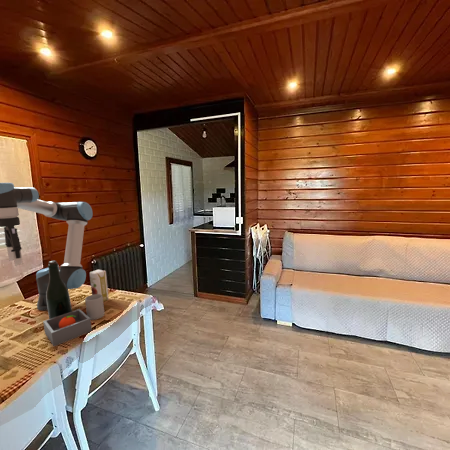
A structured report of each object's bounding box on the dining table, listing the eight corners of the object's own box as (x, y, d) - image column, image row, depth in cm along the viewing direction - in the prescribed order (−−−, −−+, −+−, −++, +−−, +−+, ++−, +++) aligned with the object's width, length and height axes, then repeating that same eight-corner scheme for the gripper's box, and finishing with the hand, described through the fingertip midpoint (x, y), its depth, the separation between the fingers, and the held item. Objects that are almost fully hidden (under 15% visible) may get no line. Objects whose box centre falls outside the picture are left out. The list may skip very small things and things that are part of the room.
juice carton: (102, 296, 164) (99, 268, 161) (110, 299, 159) (107, 270, 157) (91, 301, 157) (87, 272, 155) (99, 304, 153) (96, 274, 150)
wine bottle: (47, 327, 128) (36, 265, 123) (53, 317, 138) (44, 259, 132) (70, 323, 131) (61, 262, 126) (75, 313, 141) (66, 257, 136)
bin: (45, 333, 122) (43, 321, 122) (81, 320, 134) (79, 308, 133) (53, 346, 111) (51, 332, 111) (91, 331, 123) (90, 318, 122)
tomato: (76, 324, 128) (75, 310, 127) (80, 329, 123) (78, 315, 122) (58, 330, 123) (56, 316, 122) (61, 336, 118) (59, 321, 117)
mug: (102, 318, 135) (100, 299, 133) (85, 321, 133) (82, 301, 131) (107, 308, 146) (105, 290, 145) (91, 311, 144) (88, 292, 143)
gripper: (-7, 217, 119) (0, 260, 122) (2, 219, 103) (10, 269, 106) (13, 215, 125) (20, 256, 128) (25, 217, 108) (32, 264, 111)
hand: (15, 262), depth 117 cm, fingers open, 13 cm apart
